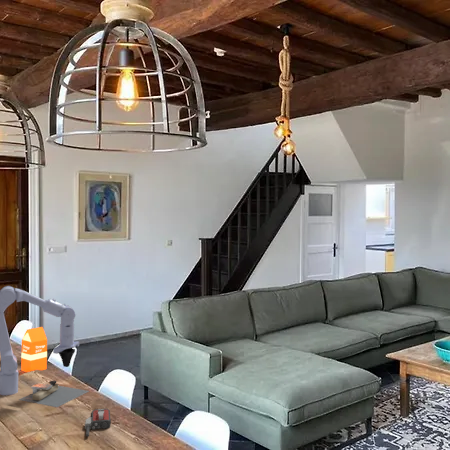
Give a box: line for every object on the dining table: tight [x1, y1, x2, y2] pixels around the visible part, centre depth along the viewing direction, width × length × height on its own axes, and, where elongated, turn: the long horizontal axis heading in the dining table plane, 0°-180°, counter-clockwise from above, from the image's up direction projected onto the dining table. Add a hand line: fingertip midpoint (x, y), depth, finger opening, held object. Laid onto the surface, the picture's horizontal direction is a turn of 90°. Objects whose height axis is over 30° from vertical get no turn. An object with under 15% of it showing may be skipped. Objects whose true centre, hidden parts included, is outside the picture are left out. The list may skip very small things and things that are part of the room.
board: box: [18, 385, 90, 408], centre depth 204 cm, size 19×20×1 cm
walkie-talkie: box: [84, 408, 112, 438], centre depth 177 cm, size 9×4×20 cm
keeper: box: [30, 383, 52, 394], centre depth 205 cm, size 4×7×4 cm, turn 78°
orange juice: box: [20, 326, 48, 373], centre depth 240 cm, size 8×9×20 cm
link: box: [32, 380, 59, 401], centre depth 204 cm, size 14×3×4 cm, turn 169°
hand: (66, 366), depth 215 cm, fingers closed
